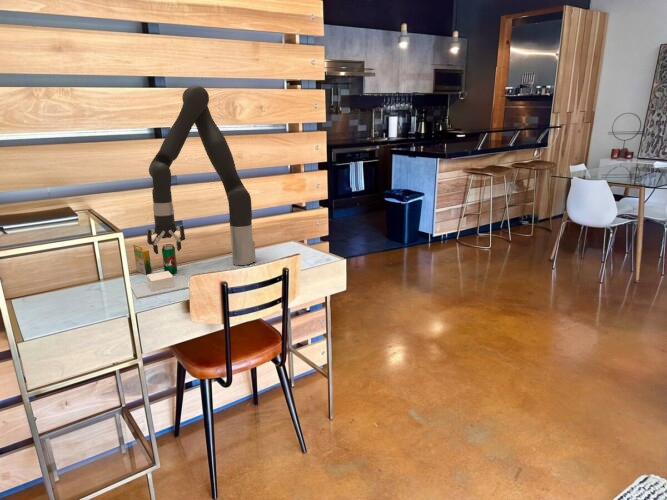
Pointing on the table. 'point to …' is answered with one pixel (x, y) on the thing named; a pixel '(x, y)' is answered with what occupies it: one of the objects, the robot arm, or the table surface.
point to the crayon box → (142, 260)
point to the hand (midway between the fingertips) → (167, 252)
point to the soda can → (169, 258)
